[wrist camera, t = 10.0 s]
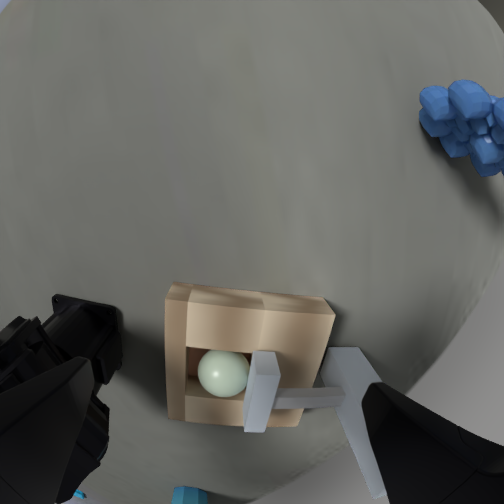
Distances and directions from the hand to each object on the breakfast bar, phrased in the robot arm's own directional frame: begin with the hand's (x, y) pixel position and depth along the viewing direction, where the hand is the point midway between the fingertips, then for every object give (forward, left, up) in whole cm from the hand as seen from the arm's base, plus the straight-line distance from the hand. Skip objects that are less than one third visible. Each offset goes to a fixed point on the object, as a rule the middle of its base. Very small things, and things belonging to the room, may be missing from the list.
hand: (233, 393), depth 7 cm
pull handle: (+7, -8, -13) cm, 17 cm away
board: (+2, -8, -13) cm, 15 cm away
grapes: (+17, +14, -13) cm, 26 cm away
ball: (0, -8, -11) cm, 13 cm away
